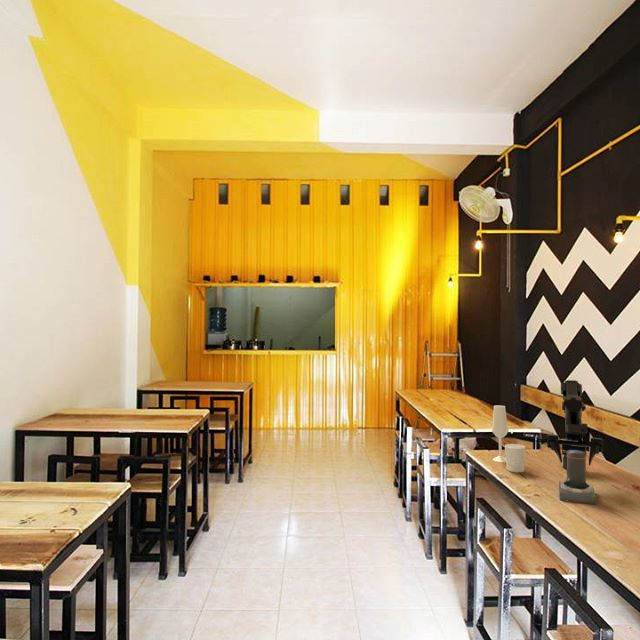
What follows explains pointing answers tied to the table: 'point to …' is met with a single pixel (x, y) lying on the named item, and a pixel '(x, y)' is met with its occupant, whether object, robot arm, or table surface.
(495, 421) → the champagne flute
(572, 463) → the lens
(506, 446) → the white cup
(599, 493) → the table surface
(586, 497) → the camera body
